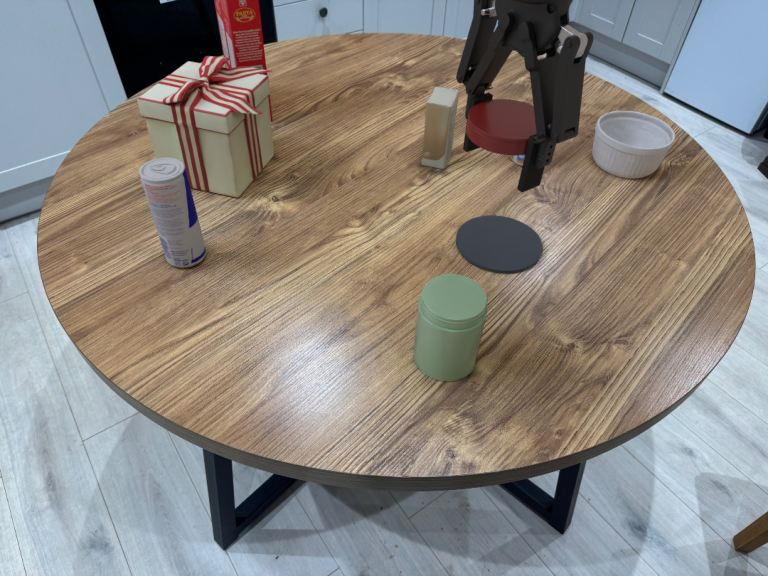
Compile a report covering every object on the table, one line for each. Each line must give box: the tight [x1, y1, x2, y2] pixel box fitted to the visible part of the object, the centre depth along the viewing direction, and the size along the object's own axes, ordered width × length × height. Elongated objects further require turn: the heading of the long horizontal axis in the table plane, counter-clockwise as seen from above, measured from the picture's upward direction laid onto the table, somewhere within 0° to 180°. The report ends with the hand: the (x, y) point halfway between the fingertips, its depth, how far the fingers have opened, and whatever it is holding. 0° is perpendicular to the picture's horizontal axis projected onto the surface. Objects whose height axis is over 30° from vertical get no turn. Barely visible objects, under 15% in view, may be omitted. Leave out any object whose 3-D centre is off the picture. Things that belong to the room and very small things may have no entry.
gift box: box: [136, 55, 275, 199], centre depth 93 cm, size 17×18×17 cm
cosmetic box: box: [420, 86, 460, 170], centre depth 99 cm, size 6×4×12 cm
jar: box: [412, 273, 489, 382], centre depth 67 cm, size 8×8×11 cm
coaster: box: [455, 214, 544, 275], centre depth 86 cm, size 13×13×1 cm
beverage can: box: [138, 158, 207, 269], centre depth 77 cm, size 6×6×15 cm
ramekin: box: [591, 110, 676, 180], centre depth 101 cm, size 13×13×7 cm
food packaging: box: [213, 0, 274, 122], centre depth 106 cm, size 15×5×25 cm, turn 23°
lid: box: [465, 98, 550, 156], centre depth 62 cm, size 9×9×2 cm
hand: (499, 166), depth 65 cm, fingers closed on lid, 9 cm apart
